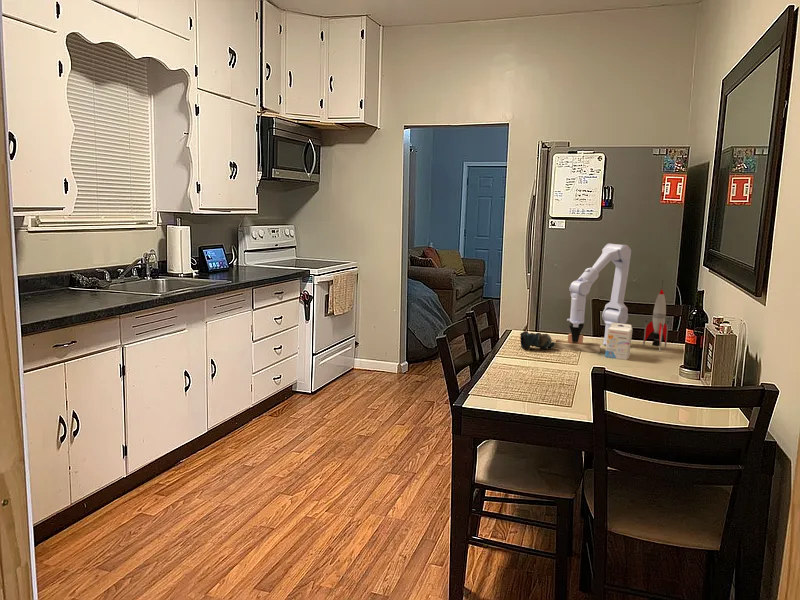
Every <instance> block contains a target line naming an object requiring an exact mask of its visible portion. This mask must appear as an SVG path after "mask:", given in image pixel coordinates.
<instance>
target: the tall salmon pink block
mask: <svg viewBox="0 0 800 600" xmlns="http://www.w3.org/2000/svg"><path fill="white" fill-rule="evenodd" d="M567 340H568V342H569V343H572V342H573V341H572V334H571V333H568V336H567ZM583 342H584V334H580V336H579V340H578V342H577V343H579V344H582V343H583Z"/></svg>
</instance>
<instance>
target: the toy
mask: <svg viewBox="0 0 800 600" xmlns="http://www.w3.org/2000/svg"><path fill="white" fill-rule="evenodd" d="M663 284H664V281H662V284H661V286H663ZM654 302H655V303H654V307H653V312H652V320H651V321H650V322H648V324H647V321H648V320H645V324H644V331H643V334H644V335H643V343H642V346H643V347H645V345H646V341H647V339H648V338H649V336H650V335H651V334H652V338H653V339H654V340H653V341H652V344H651V345H652V346H654V347H659V349H658V352H661V351H662V343H663V342H662V341H663V340H664V348H667V343H668V332H669V321H667V324H666V315H667V304H666V302H667V301H666V296H665V292H664V291H663V289H661V290H660V291H659V292H658V294H657V296H656V299H655V301H654Z"/></svg>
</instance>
